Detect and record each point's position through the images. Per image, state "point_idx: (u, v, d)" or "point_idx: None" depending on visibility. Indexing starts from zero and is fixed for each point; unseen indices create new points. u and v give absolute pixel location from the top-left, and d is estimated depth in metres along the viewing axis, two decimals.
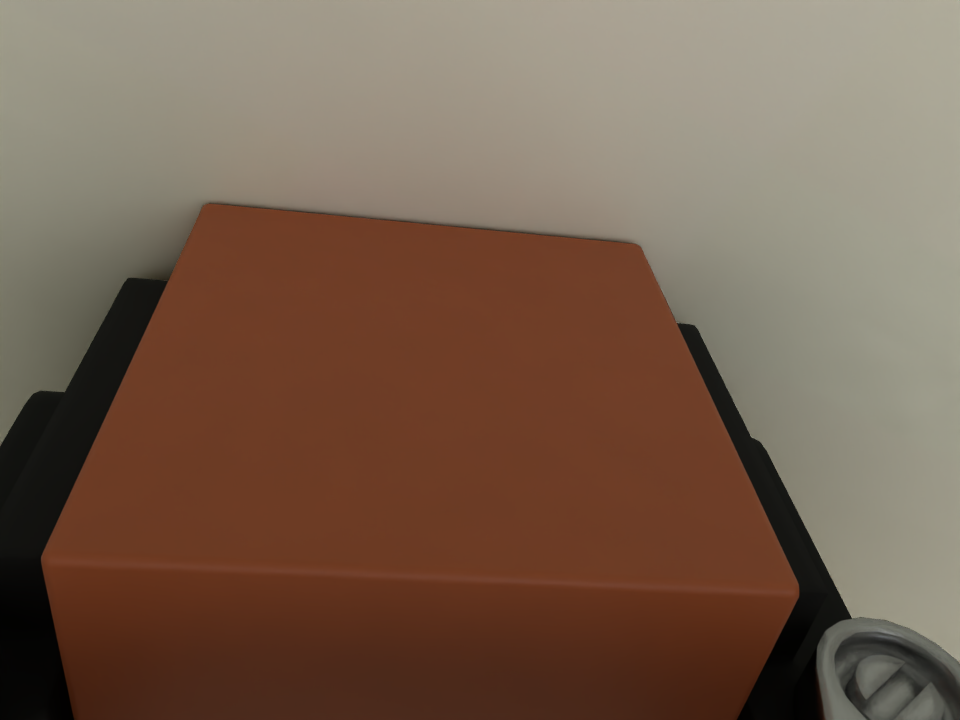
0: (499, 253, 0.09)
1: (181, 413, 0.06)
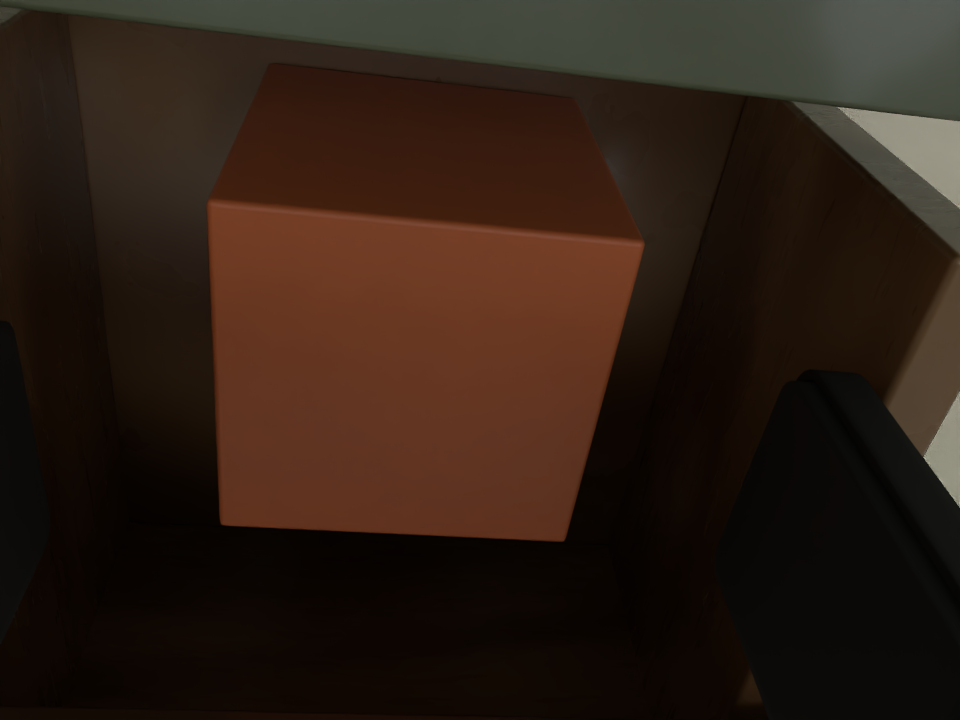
0: (475, 97, 0.13)
1: (273, 153, 0.10)
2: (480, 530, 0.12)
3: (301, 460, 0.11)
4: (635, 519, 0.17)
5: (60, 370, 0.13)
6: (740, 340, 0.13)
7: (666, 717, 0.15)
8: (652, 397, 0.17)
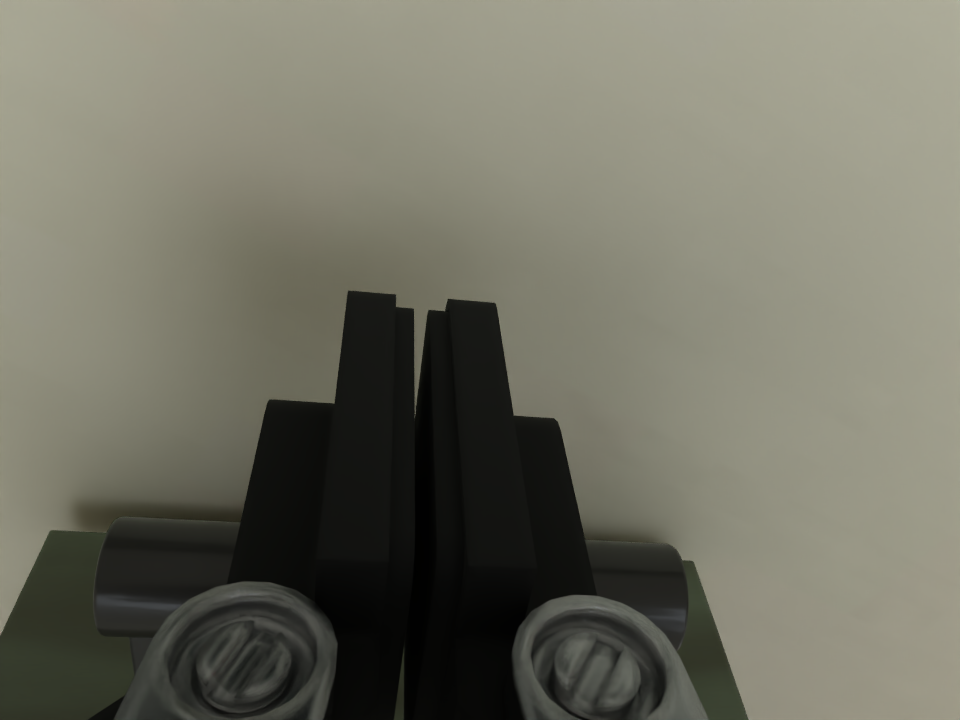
0: None
1: None
2: None
3: None
4: None
5: None
6: None
7: None
8: None
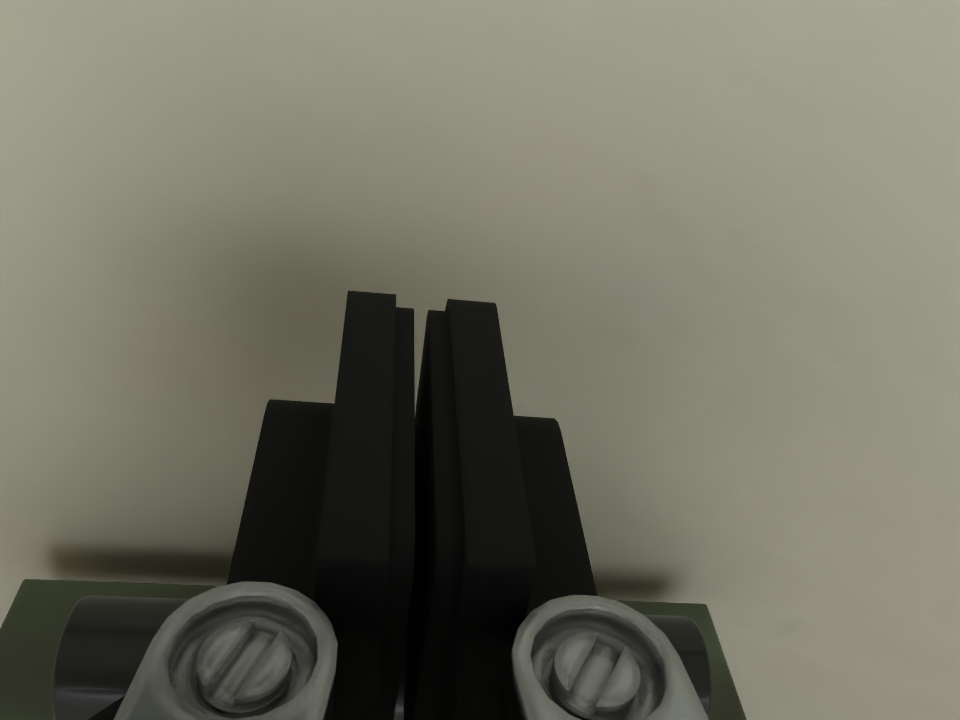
0: None
1: None
2: None
3: None
4: None
5: None
6: None
7: None
8: None
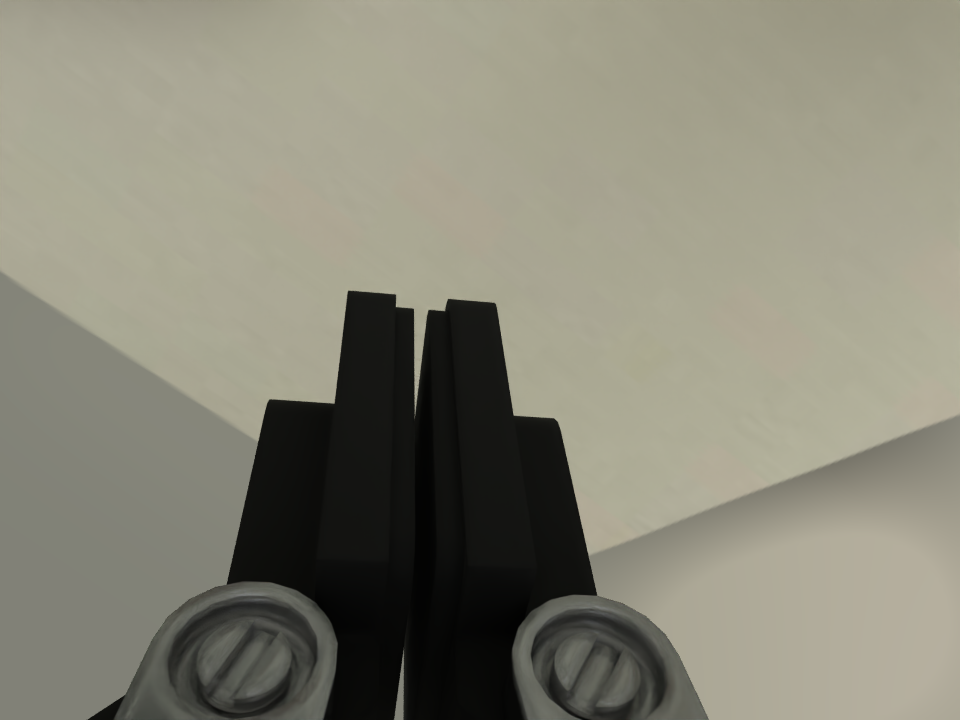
0: None
1: None
2: None
3: None
4: None
5: None
6: None
7: None
8: None
